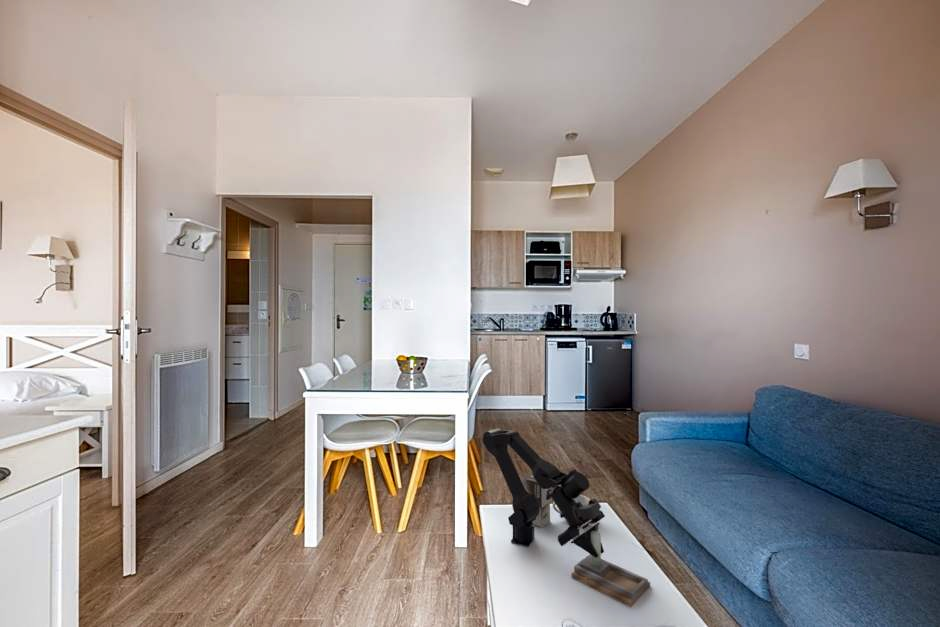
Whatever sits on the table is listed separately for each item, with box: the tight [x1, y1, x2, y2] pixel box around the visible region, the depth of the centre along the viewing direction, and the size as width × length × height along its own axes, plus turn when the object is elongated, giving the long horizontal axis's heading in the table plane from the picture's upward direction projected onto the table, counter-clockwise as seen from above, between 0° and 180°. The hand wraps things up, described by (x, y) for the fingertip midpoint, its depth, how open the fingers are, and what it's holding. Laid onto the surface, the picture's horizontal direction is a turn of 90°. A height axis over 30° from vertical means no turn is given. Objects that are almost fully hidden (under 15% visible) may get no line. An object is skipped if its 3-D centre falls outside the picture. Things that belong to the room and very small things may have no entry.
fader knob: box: [581, 530, 611, 577], centre depth 127 cm, size 6×6×11 cm
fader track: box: [571, 553, 651, 608], centre depth 123 cm, size 18×12×3 cm, turn 44°
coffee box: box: [520, 472, 551, 528], centre depth 160 cm, size 9×6×16 cm
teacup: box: [552, 494, 591, 516], centre depth 160 cm, size 14×11×8 cm
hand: (600, 554), depth 126 cm, fingers closed on fader knob, 3 cm apart
